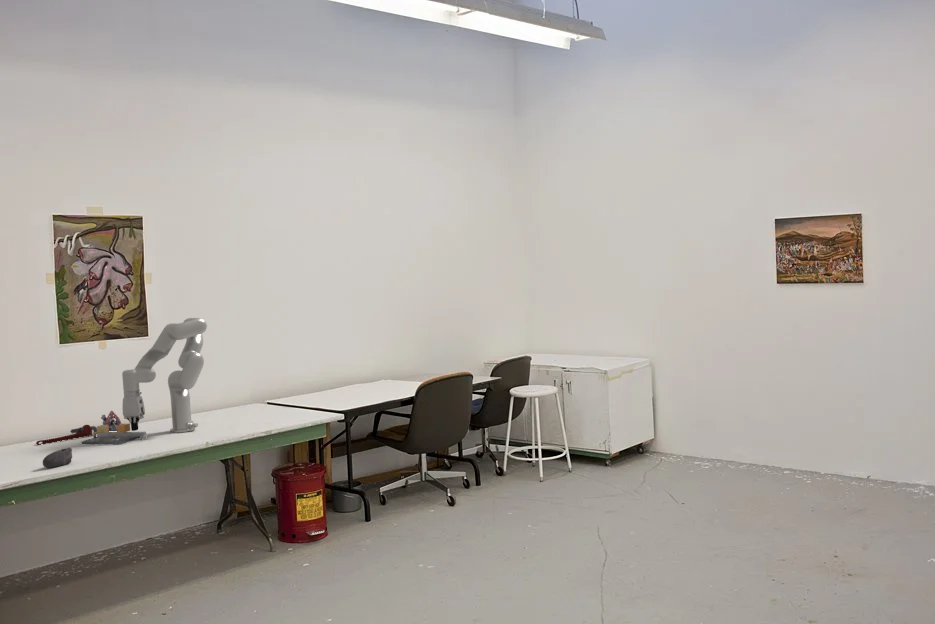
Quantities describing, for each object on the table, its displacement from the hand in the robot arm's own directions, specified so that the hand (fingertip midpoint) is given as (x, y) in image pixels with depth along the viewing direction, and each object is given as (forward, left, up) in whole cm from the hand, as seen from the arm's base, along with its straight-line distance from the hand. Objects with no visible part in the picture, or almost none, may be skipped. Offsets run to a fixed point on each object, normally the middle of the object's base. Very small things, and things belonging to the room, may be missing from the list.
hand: (134, 430), depth 436 cm
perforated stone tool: (-2, +58, -5) cm, 59 cm away
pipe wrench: (+38, +2, -5) cm, 39 cm away
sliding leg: (+6, +3, -2) cm, 7 cm away
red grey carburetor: (+29, -22, -5) cm, 37 cm away
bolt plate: (+8, +5, -4) cm, 10 cm away
